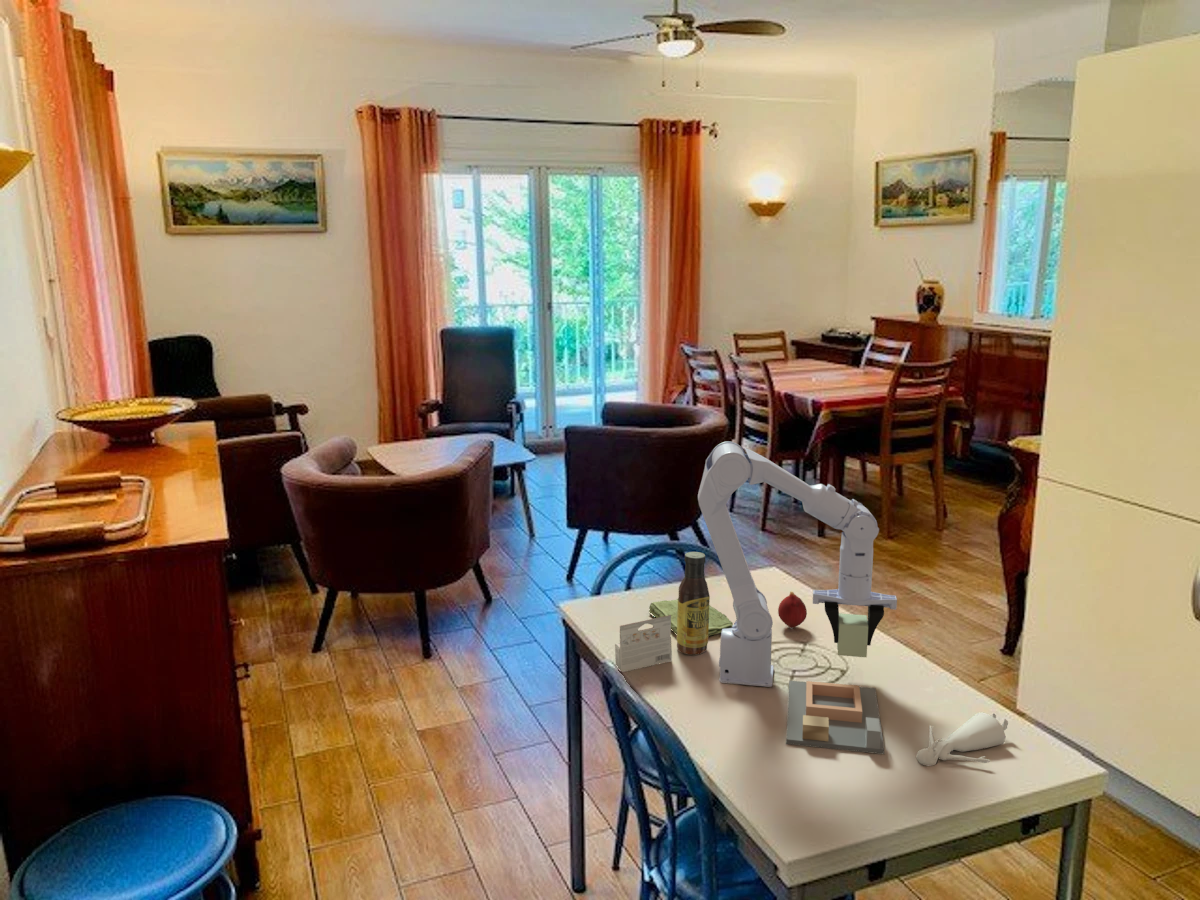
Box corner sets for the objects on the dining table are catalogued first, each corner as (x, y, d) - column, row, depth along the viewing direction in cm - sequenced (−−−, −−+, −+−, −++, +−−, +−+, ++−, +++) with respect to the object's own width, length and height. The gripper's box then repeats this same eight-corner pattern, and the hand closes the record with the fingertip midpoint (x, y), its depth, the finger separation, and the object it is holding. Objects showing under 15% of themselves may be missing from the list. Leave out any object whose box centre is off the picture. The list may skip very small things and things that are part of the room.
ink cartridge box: (614, 668, 167) (613, 620, 165) (666, 656, 171) (666, 610, 169) (620, 673, 165) (619, 625, 162) (672, 662, 169) (672, 615, 167)
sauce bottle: (687, 659, 170) (687, 562, 165) (670, 647, 175) (670, 553, 171) (715, 651, 172) (716, 556, 168) (697, 640, 178) (698, 547, 174)
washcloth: (682, 646, 176) (682, 631, 176) (645, 614, 192) (645, 600, 192) (738, 634, 181) (739, 619, 181) (697, 604, 197) (697, 590, 196)
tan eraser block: (802, 738, 140) (802, 724, 139) (802, 728, 143) (803, 715, 142) (828, 741, 139) (828, 727, 138) (827, 731, 142) (828, 717, 141)
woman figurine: (1032, 727, 136) (949, 766, 128) (1031, 752, 137) (949, 792, 129) (971, 694, 146) (890, 728, 138) (970, 718, 147) (890, 753, 139)
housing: (786, 743, 140) (786, 722, 139) (789, 684, 159) (789, 665, 158) (884, 754, 137) (885, 732, 136) (875, 692, 156) (876, 672, 155)
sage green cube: (837, 655, 158) (839, 624, 157) (837, 643, 163) (838, 613, 162) (866, 657, 157) (868, 626, 156) (864, 645, 162) (866, 615, 161)
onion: (810, 625, 184) (811, 590, 182) (800, 635, 179) (801, 599, 177) (783, 620, 187) (784, 584, 185) (773, 629, 182) (774, 593, 180)
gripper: (895, 566, 159) (891, 635, 162) (813, 561, 162) (811, 629, 165) (899, 580, 152) (895, 652, 155) (814, 575, 155) (811, 645, 158)
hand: (852, 641), depth 160 cm, fingers closed on sage green cube, 5 cm apart
